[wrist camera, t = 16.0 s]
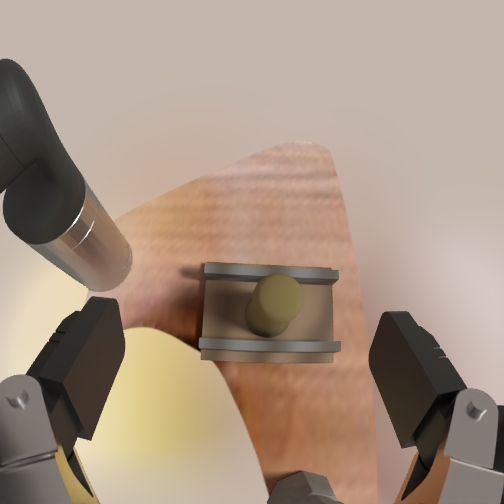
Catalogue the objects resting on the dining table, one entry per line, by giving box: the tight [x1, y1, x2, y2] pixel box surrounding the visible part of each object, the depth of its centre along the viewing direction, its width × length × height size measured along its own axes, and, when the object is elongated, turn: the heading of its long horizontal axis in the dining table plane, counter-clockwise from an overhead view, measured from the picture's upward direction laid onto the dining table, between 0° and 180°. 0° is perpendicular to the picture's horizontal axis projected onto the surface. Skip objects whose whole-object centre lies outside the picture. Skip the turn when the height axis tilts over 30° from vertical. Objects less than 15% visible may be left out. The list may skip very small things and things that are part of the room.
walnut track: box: [199, 262, 341, 363], centre depth 40 cm, size 17×13×4 cm
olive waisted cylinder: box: [245, 273, 304, 338], centre depth 36 cm, size 6×6×11 cm
